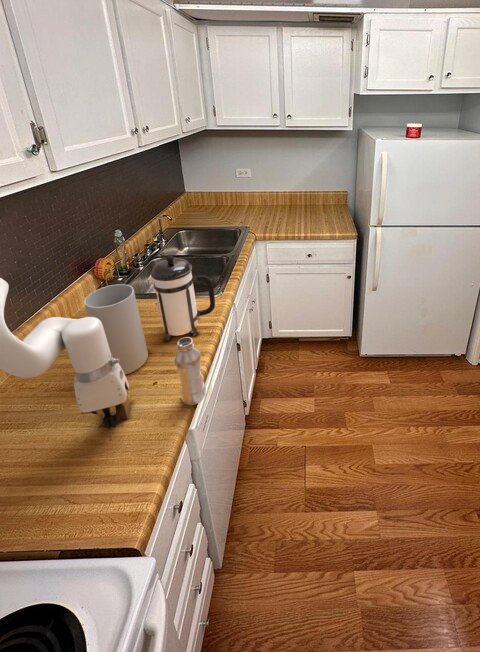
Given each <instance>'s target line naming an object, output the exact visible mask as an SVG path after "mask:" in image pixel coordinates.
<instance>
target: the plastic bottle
mask: <svg viewBox="0 0 480 652" xmlns="http://www.w3.org/2000/svg"><path fill="white" fill-rule="evenodd" d="M176 346H177V350H178V351H177V352H176V354H175V357H174V364H175V367H176V370H177V372H178V375H179V378H180V379H179V381H180V392H179V393H180V395H179V396H180V398H181V401H182V402H183V404H185V405H188V406H195V405H198V404H199V403H201V402H202V401H203V400H204V398H205V397H206V392H207V388H206V385H205V382H204V380H203V376H202V367H201V366H202V365H201V364H202V355H201V351H200V350H199V349H198V348H197V347H196V346H195V344H194V340H193V338H192V337H189V336H185V337H181V338H180V339H179V340H178V341H177V344H176Z"/></svg>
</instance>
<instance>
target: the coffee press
mask: <svg viewBox="0 0 480 652" xmlns="http://www.w3.org/2000/svg"><path fill="white" fill-rule="evenodd" d="M192 270H193V265H192V264H191V263H190V262H189V261H188V260H186V259H184V258H181V257H174V256H173V255H171V254H170V255H167V256H166V259H163V260H160V261H159V262H157V263H156V264H155V265H154V266H153V267H152V270H151V272H150V275H149V277H148V278H147V280H148V281H152V282H153V288H154V290H155V294H156V299H157V304H158V310H159V314H160V320H161V325H162V330H163V331H164V336H163V339H162V340H163V341H165V342H169V341H170V340H171V338H172V336H173V337H174V336H176V337H177V336H183V335H187V334H189V333H190V334H191V335H192V337H196V336H197V335H199V331H198V330H197V328H196V327H197V326H198V325H199V317H203V316H206V315H209V314H211V313H212V312H213V311H214V310H215V308H216V307H215V306H216V298H215V290H214V283H213V282H212V279H211V278H209V277H208V276H207V275H204V274H203V275H201V274H200V275H199V274H198V275H195V276H194V275H193V273H192ZM197 281H198V282H204V283H205V284H206V285H207V288H208V289H207V290H208V296H209V297H208V298H209V306H208V307H207V308H206V309H202V310H199V309H198V308H197V301H196V295H195V288H194V282H197Z"/></svg>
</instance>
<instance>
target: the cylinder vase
mask: <svg viewBox="0 0 480 652" xmlns="http://www.w3.org/2000/svg"><path fill="white" fill-rule="evenodd" d="M134 289H135V288H134V286H132V285H130V284H124V283H119V284H117V283H116V284H111V285H106V286H103V287H100V288H98V289H96V290H94V291H92V292H90V293H89V294H87V296H85V298H84V300H83V303H84V306H85V310H86V313H87V317H95V318H97V319H99V320H100V321H101V322H102V325H103V328H104V332H105V335H106V338H107V342H108V345H109V349H110V352H111V354H112V355H113V357H114V358H120V363H119V365H120V366H121V368H122V370H123V372H124V374H125V376H127V375H130V374H132V373H134V372H136V371H138V370H139V369H140V368H141V367H142V366H143V365H145V363H146V362H147V359H148V358H149V351H148V347H147V342H146V338H145V334H144V329H143V325H142V321H141V315H140V311H139V307H138V306H139V305H138V302H137V298H136V294H135V290H134Z"/></svg>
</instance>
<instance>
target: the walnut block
mask: <svg viewBox="0 0 480 652" xmlns="http://www.w3.org/2000/svg"><path fill="white" fill-rule="evenodd" d="M131 405H132V403H131V401H130V402H128V403H126V404H124V405H121V407H120V408H119V409H118V414H119V421H118V422H120V421H124V420H128V419H129V415H130V409H131ZM107 408H108V407H107Z"/></svg>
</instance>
